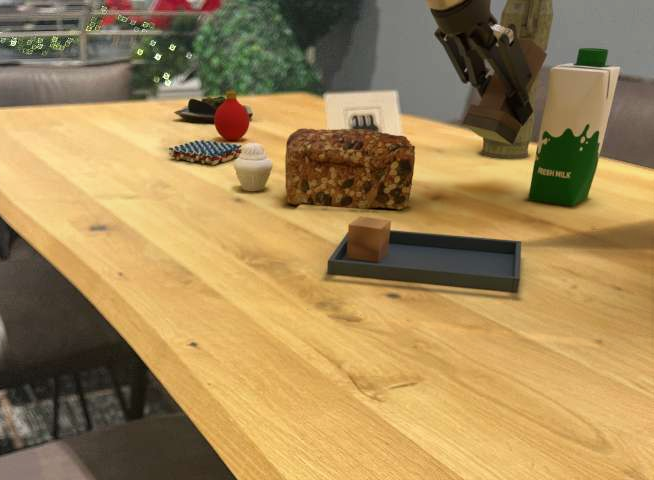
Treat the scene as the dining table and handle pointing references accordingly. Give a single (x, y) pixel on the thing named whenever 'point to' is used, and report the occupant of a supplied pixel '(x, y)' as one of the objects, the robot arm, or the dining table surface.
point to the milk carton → (573, 128)
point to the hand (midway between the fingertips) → (512, 115)
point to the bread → (348, 168)
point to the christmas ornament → (231, 118)
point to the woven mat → (206, 152)
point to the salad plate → (204, 110)
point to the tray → (438, 261)
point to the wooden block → (368, 239)
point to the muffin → (253, 167)
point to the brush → (502, 102)
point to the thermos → (535, 24)
